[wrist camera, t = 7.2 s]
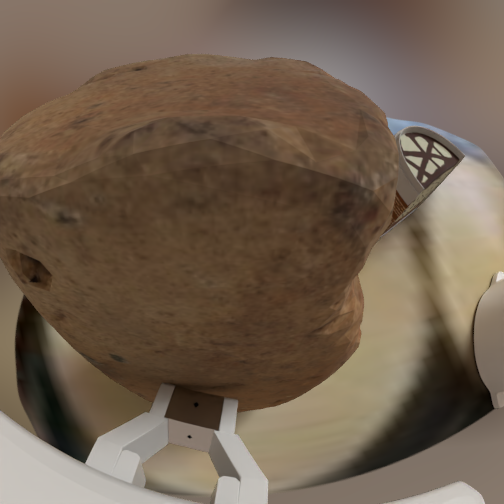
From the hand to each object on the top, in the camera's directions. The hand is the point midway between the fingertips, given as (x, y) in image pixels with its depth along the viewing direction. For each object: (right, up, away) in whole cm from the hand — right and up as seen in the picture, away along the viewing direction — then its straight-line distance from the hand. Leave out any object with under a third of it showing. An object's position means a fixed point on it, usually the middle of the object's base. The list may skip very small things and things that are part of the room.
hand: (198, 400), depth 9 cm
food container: (+17, +11, +20) cm, 29 cm away
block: (0, -4, +11) cm, 11 cm away
